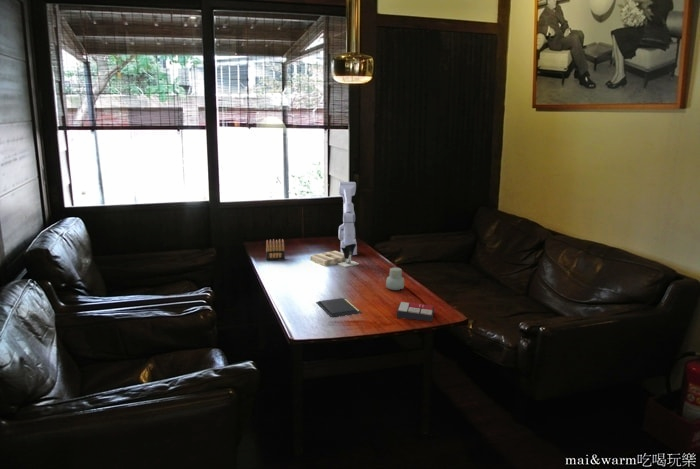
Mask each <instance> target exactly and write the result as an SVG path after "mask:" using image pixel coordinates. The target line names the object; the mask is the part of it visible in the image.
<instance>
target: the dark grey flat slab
mask: <svg viewBox="0 0 700 469" xmlns="http://www.w3.org/2000/svg"><path fill="white" fill-rule="evenodd" d="M315 303H316V304H317V306H318V307H320V309H322V311H324V312H325V314H326V315H327V316H328V315H329V316H328V317H330V318H339V316H340V317H346V316H345V315H347V316H353V315H352V314H354V315H358V313H360V314H363V312H362V310H361V309H359V308H357V307H356V306H355V305H354V304H352V303H351V302H350V301H349V300H348V299H347V298H343V297H339V298H332V299H325V300H318V301H316V302H315Z"/></svg>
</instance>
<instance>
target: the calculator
mask: <svg viewBox="0 0 700 469" xmlns="http://www.w3.org/2000/svg"><path fill="white" fill-rule="evenodd" d="M434 312H435V306H434V305H430V304H429V305H428V304H422V303H416V302H405V301H400V302H399V305H398V307H397V311H396V319H398V318H405V319H404V320H412V319H416V320H415V321H419V320H426V321H425V322H429V321H432V322H433V320H432V319H433V318H434V314H433V313H434Z"/></svg>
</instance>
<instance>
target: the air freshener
mask: <svg viewBox="0 0 700 469" xmlns="http://www.w3.org/2000/svg"><path fill="white" fill-rule="evenodd" d="M402 271H403V269H402V268H400V267H391V268H389V276H387V277H386V282H385V287H386V288H387V289H389V290H391V291H400V289H401V290H403V289H404V287H405V278H404V277H402V276H403V274H402Z"/></svg>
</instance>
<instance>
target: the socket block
mask: <svg viewBox="0 0 700 469" xmlns="http://www.w3.org/2000/svg"><path fill="white" fill-rule="evenodd" d="M340 252H341V251H338V250H331V251H326V252H321V253H317V254H312V255H311V254H310V257H309V258H310V259H309V261H311V262H313V263H316V264H318V265H320V266H324V267H326V266H327V267H328V266H331V265H332V266H333V265H338V263H342V262H346V258H345V257H344V254H343V253H340Z"/></svg>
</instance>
